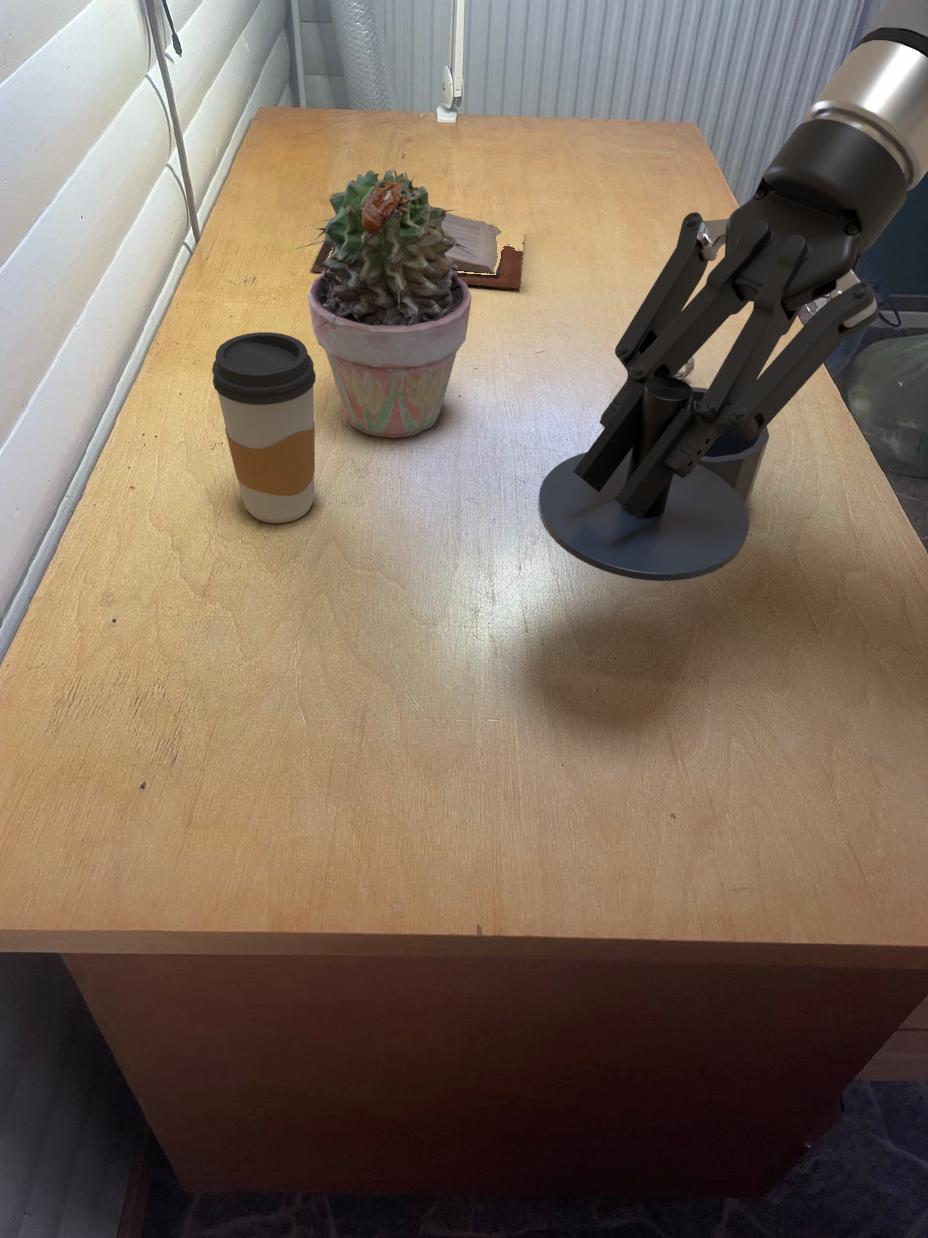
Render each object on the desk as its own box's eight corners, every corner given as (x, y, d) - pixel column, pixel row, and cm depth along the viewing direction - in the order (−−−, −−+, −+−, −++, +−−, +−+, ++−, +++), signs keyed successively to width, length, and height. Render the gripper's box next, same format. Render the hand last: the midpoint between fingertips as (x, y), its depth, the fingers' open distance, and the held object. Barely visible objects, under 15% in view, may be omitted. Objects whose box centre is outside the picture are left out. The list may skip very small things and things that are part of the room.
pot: (788, 498, 88) (815, 421, 82) (662, 569, 79) (682, 489, 73) (689, 440, 95) (707, 365, 89) (563, 499, 86) (574, 421, 80)
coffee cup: (291, 467, 88) (275, 319, 78) (343, 507, 84) (334, 357, 73) (215, 500, 84) (188, 348, 73) (266, 544, 79) (245, 390, 69)
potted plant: (429, 352, 106) (433, 115, 89) (507, 438, 93) (529, 181, 76) (279, 380, 100) (252, 132, 83) (340, 476, 87) (324, 206, 70)
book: (336, 221, 135) (333, 189, 131) (526, 231, 133) (528, 199, 130) (309, 286, 121) (305, 253, 118) (519, 298, 120) (521, 265, 116)
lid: (787, 534, 60) (835, 403, 53) (645, 620, 53) (680, 482, 46) (635, 440, 67) (661, 314, 60) (494, 505, 60) (505, 372, 54)
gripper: (988, 241, 51) (725, 580, 54) (759, 160, 60) (545, 458, 63) (981, 155, 45) (686, 544, 48) (727, 79, 53) (492, 414, 57)
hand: (607, 495), depth 56 cm, fingers closed on lid, 3 cm apart
